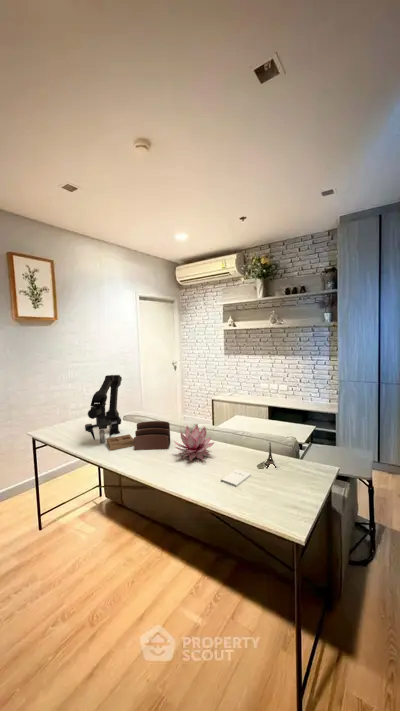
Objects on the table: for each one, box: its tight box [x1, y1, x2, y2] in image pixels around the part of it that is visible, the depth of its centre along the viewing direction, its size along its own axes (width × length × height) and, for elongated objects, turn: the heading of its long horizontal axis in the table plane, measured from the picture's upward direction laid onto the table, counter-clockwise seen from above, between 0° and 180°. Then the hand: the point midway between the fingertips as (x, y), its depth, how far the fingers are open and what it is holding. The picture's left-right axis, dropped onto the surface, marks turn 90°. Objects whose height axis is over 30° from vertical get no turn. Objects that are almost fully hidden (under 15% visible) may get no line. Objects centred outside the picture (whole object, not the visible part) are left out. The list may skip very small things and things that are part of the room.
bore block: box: [106, 433, 134, 452], centre depth 178 cm, size 12×14×4 cm
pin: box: [98, 429, 106, 445], centre depth 183 cm, size 3×3×8 cm
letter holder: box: [133, 420, 172, 451], centre depth 173 cm, size 10×20×14 cm, turn 89°
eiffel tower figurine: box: [256, 442, 278, 470], centre depth 143 cm, size 15×10×13 cm
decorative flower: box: [173, 424, 215, 462], centre depth 157 cm, size 21×21×15 cm
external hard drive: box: [220, 468, 252, 488], centre depth 133 cm, size 2×8×12 cm
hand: (102, 438), depth 183 cm, fingers open, 9 cm apart
